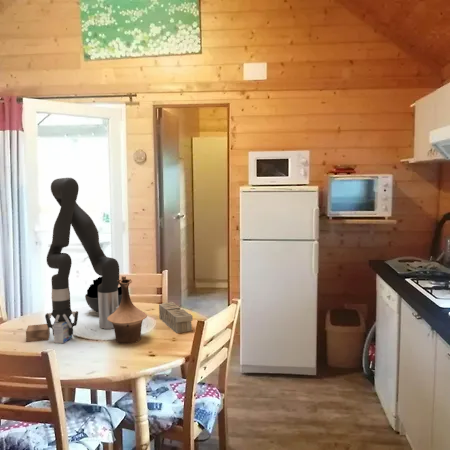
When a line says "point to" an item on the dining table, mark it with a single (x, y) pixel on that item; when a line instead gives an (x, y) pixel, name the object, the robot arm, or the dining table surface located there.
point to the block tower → (175, 317)
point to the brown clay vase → (127, 317)
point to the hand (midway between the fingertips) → (63, 335)
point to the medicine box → (61, 332)
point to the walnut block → (37, 333)
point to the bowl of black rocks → (93, 295)
